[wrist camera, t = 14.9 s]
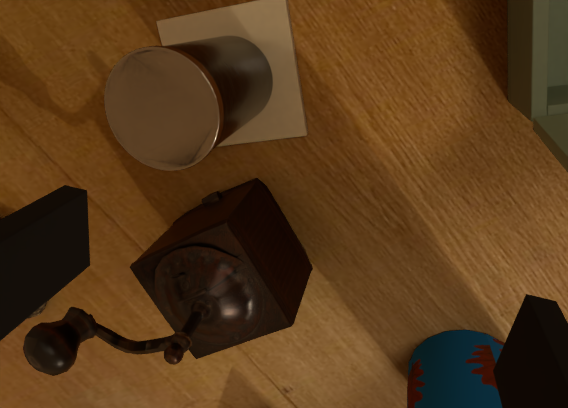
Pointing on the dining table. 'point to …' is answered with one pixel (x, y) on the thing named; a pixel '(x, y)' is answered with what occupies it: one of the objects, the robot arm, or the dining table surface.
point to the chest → (538, 57)
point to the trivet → (275, 46)
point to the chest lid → (554, 135)
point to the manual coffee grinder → (201, 283)
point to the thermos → (454, 371)
